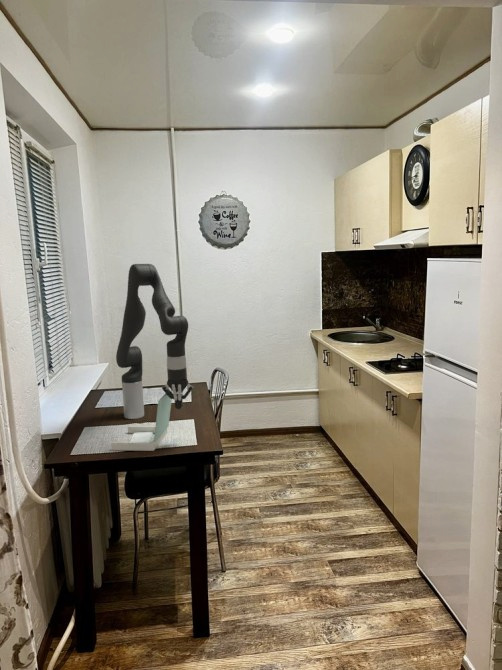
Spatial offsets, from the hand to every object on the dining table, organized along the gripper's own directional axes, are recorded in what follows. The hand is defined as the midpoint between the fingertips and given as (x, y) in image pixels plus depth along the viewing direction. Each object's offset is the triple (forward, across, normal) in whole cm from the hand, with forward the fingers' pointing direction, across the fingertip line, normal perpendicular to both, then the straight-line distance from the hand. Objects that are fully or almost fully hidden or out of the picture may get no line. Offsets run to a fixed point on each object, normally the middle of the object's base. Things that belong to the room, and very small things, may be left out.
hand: (179, 408), depth 194 cm
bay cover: (+2, +7, 0) cm, 7 cm away
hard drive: (+15, +17, -1) cm, 22 cm away
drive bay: (+14, +17, 0) cm, 22 cm away
